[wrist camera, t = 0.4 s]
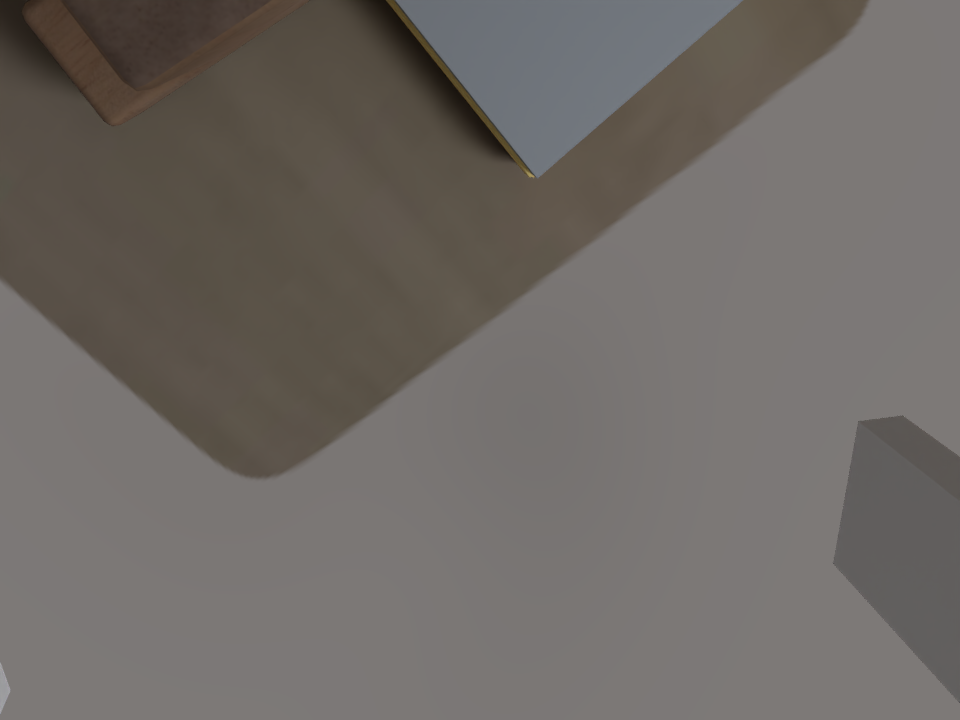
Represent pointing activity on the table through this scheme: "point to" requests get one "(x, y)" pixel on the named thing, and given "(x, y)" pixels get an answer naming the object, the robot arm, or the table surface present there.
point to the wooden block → (145, 44)
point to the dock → (553, 60)
